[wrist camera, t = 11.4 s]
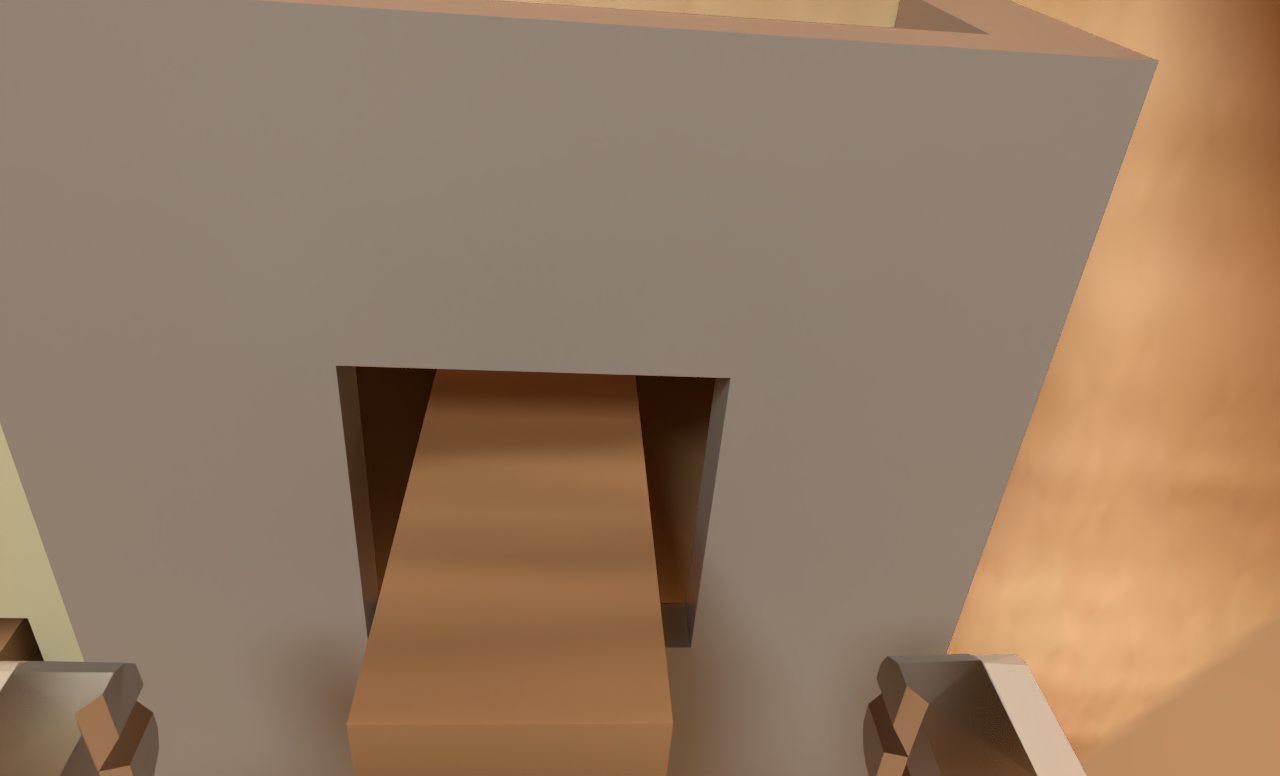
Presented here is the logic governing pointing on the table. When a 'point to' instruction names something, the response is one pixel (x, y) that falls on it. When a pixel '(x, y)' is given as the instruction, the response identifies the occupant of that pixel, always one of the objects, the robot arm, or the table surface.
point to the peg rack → (29, 570)
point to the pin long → (519, 590)
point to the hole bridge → (532, 319)
